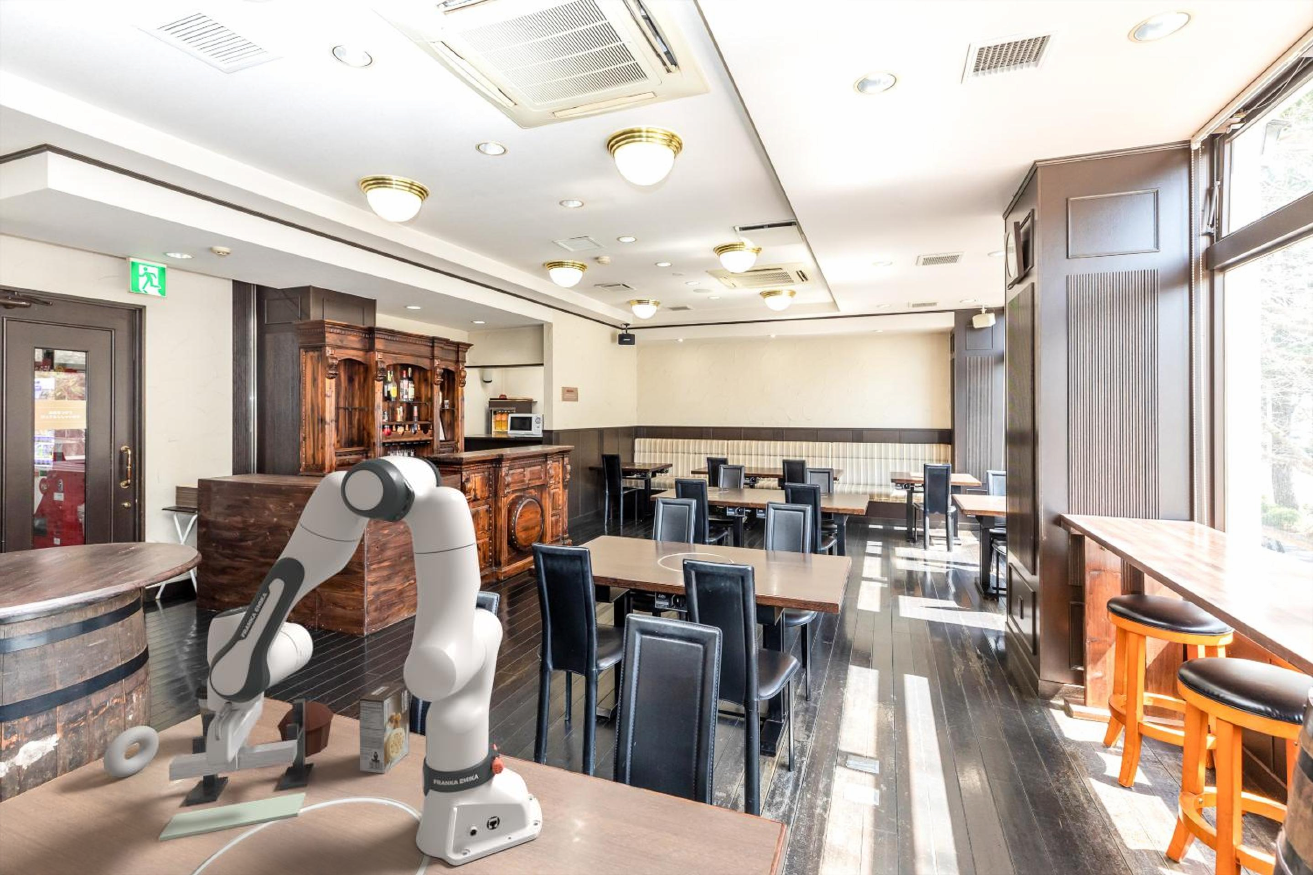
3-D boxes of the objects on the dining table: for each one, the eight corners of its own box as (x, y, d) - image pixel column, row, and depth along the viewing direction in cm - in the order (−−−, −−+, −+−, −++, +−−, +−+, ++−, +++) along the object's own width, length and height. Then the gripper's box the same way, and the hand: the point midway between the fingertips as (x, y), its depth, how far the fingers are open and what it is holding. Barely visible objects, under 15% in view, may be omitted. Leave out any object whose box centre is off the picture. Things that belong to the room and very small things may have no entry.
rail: (297, 754, 120) (297, 739, 120) (293, 762, 117) (293, 746, 117) (176, 772, 114) (176, 756, 114) (169, 780, 111) (169, 764, 111)
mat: (305, 794, 122) (305, 792, 122) (297, 815, 116) (297, 812, 116) (175, 817, 115) (175, 814, 115) (158, 840, 109) (158, 837, 109)
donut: (109, 788, 125) (109, 740, 124) (99, 785, 126) (98, 737, 126) (163, 763, 134) (162, 718, 134) (152, 760, 135) (152, 716, 135)
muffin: (325, 758, 136) (325, 714, 136) (270, 765, 133) (269, 720, 133) (338, 732, 148) (338, 692, 148) (287, 738, 145) (287, 697, 145)
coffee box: (385, 749, 140) (385, 680, 140) (410, 752, 139) (410, 682, 139) (358, 770, 131) (358, 697, 131) (384, 774, 130) (384, 700, 130)
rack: (313, 768, 132) (313, 695, 132) (305, 788, 125) (305, 711, 124) (199, 786, 125) (199, 709, 125) (183, 809, 118) (183, 727, 118)
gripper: (237, 713, 107) (237, 791, 107) (269, 670, 126) (269, 736, 126) (194, 719, 104) (194, 798, 105) (234, 674, 124) (234, 741, 124)
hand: (236, 763), depth 115 cm, fingers closed on rail, 3 cm apart
